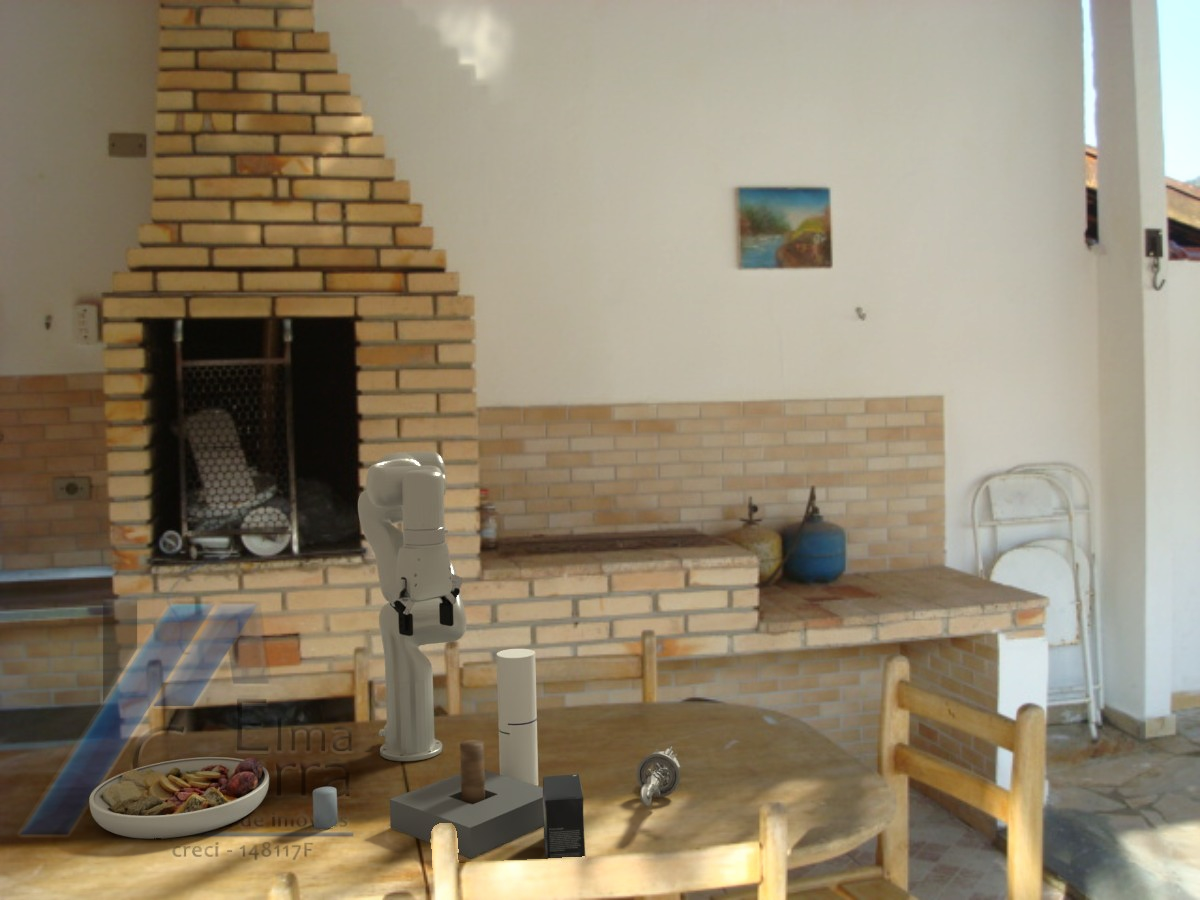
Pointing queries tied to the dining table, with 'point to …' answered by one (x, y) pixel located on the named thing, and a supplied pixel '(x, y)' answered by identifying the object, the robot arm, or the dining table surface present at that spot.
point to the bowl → (179, 797)
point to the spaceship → (658, 775)
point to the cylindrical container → (517, 715)
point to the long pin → (472, 771)
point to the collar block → (471, 812)
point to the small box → (563, 816)
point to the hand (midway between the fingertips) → (426, 629)
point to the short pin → (325, 807)
